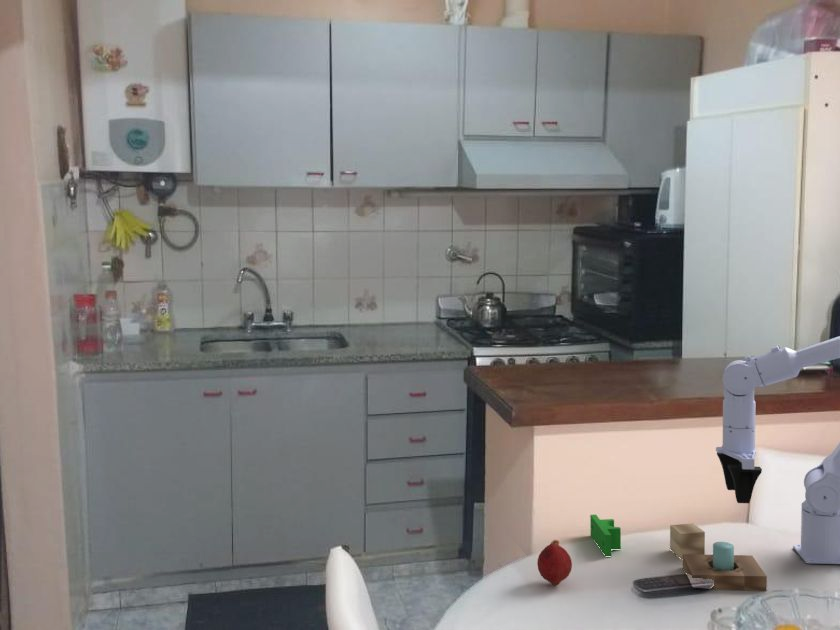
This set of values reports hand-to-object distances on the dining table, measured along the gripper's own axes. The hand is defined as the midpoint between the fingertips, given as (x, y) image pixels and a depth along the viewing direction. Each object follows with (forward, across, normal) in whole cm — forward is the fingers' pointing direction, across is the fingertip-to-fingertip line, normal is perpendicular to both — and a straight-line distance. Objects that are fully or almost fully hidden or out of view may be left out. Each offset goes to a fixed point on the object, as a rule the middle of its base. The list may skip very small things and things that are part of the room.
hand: (738, 496), depth 161 cm
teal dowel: (+10, +15, -6) cm, 19 cm away
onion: (+10, +19, -35) cm, 41 cm away
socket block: (+10, +15, -6) cm, 19 cm away
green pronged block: (+10, +1, -24) cm, 26 cm away
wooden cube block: (+10, +4, -10) cm, 15 cm away
